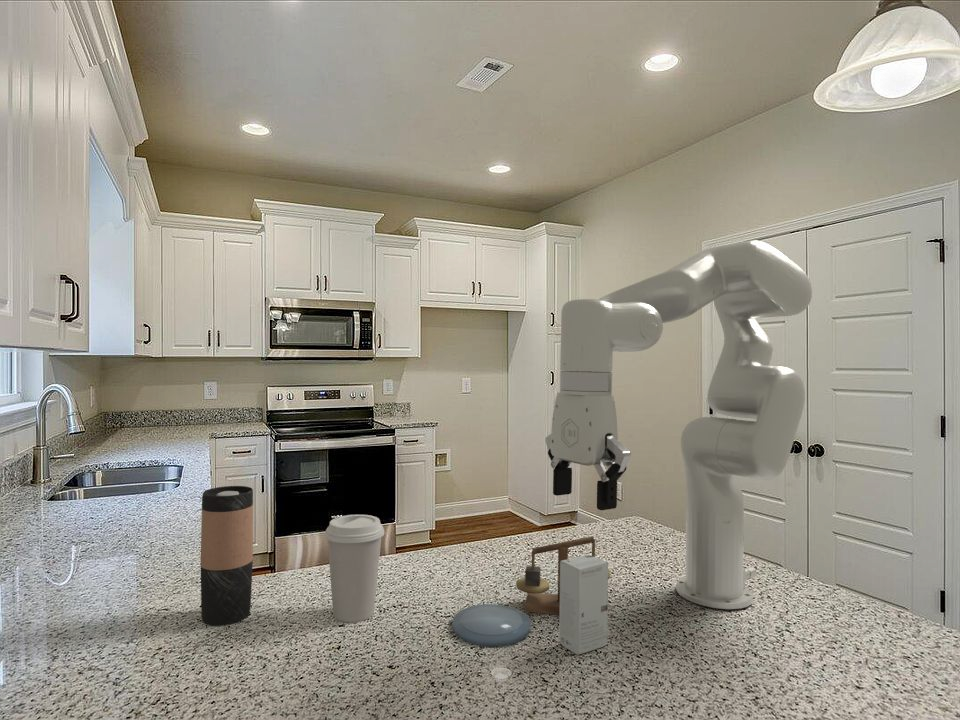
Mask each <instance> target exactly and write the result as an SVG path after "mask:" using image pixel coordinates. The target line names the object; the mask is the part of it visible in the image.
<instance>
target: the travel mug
mask: <svg viewBox="0 0 960 720" xmlns="http://www.w3.org/2000/svg"><path fill="white" fill-rule="evenodd" d="M200 523H201V525H200V526H201V531H200V599H201V600H200V603H201V605H200V606H201V607H200V608H201V609H200V611H201V622H202V623H203V624H205V625H207V626H212V627H213V626H214V627H221V626H222V627H223V626H229V625H230V626H231V625H233V624H236V623H239V622H242V621H243V620H245V619H247V618H248V617H249V616H250V614H251V606H252V584H253V582H252V581H253V561H254V554H253V553H254V489H253V487H250V486H245V485H244V486H243V485H226V486H219V487H212V488H209V489H206V490H204V491H203V492H202V495H201V522H200ZM246 617H247V618H246Z"/></svg>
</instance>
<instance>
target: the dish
mask: <svg viewBox="0 0 960 720" xmlns="http://www.w3.org/2000/svg"><path fill="white" fill-rule="evenodd" d="M452 631H453V633H454V635H456V637H458V638H459V639H460V640H462V641H464V642H466V643H468V644H469V643H470V644H472V645H476V646H482V647H504V646H510V645H513V644H517V643H520V642H522V641H523V640H525V639H527V637H528V636H529V634H530V633H531V620H530V618H529V616H528V615H527V614H526V613H525V612H523V611H522V610H520V609H518V608H515V607H512V606H509V605H504V604H503V605H502V604H496V603H494V604H493V603H491V604H490V603H487V604H486V603H485V604H476V605H472V606H471V605H470V606H467V607H465V608H463V609H461V610H460V611H458V612H457V613H456V614H455V615H454V616H453V619H452Z"/></svg>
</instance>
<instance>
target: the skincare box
mask: <svg viewBox="0 0 960 720" xmlns="http://www.w3.org/2000/svg"><path fill="white" fill-rule="evenodd" d="M608 570H609V562H608V561H606V560H604V559H601V558H599V557H596V556H595V557H593V556H592V554H591V555H590V554H588V555H581V556H575V557H571V558H568V559H567V560H562V561H560V614H558V615H559V618H558V619H559V620H558V621H559V622H558V623H559V625H558V626H559V627H558V629H559V630H558V631H559V632H558V642H559V644H560V645H561V646H563V648H566V649H567V650H568V651H570V652H572V653H573V654H575V655H581V654H584V653H588V652H590V651H594V650H598V649H599V648H602V647H603V648H604V647H605V646H607V645H608V629H609V628H608V625H609V624H608V623H609V621H608V619H609V618H608V615H609V613H608V612H609V611H608V608H609V607H608V606H609V604H608V601H609V599H608V598H609V597H608V596H609V587H608V586H609V579H608Z"/></svg>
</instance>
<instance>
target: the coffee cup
mask: <svg viewBox="0 0 960 720" xmlns="http://www.w3.org/2000/svg"><path fill="white" fill-rule="evenodd" d="M384 535H385V528H384V526H383V525H382V523H381V520H380V518H379V517H377V516H373V515H370V514H369V515H368V514H347V515H341V516H337V517H335V518H333V519H331V520H330V521H329V525H328V526H327V528H326V530H325V531H324V538H325V539H326V541H327V546H328V547H327V549H328V562H329V563H328V565H329V575H330V576H329V577H330V590H331V600H332V601H331V603H332V615H333V618H334V620H336V619H337V620H336V621H338V620H339V622H341V621H344V622H343V623H359V622H363V621H366V620H368V619H369V618H371V617H373V615H374V614H375V609H376V608H375V606H376V597H377V585H378V575H379V574H378V573H379V565H380V553H381V545H382V537H384ZM358 621H359V622H358Z"/></svg>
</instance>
